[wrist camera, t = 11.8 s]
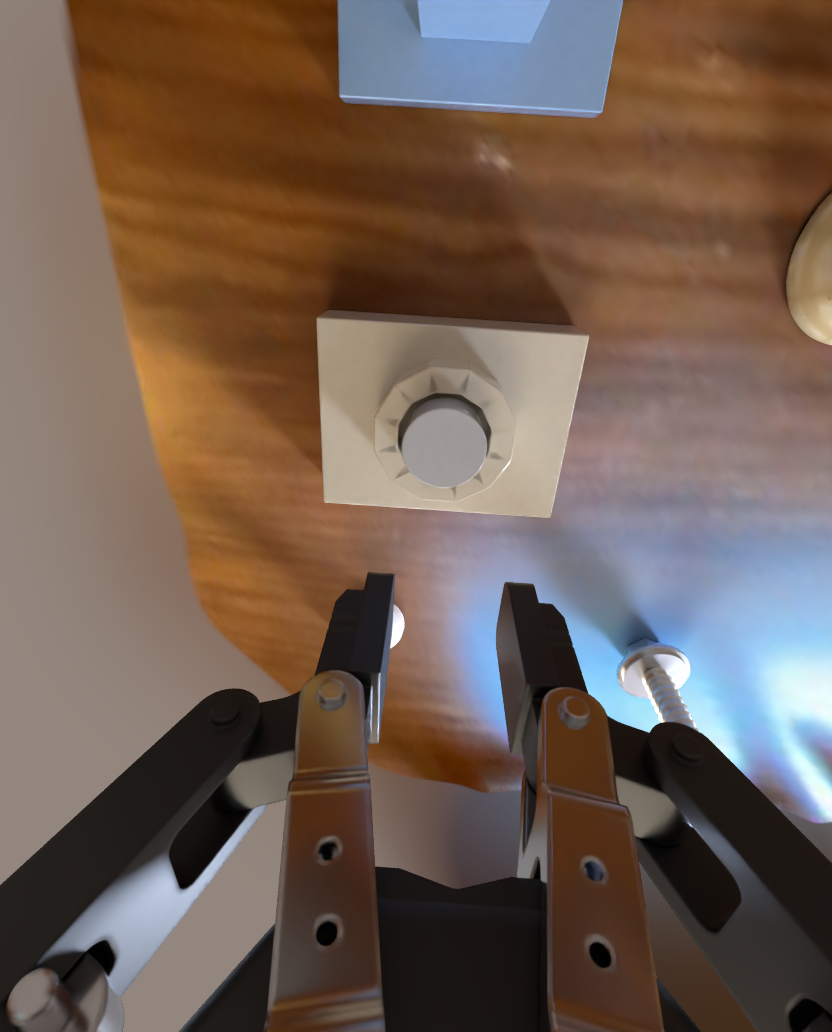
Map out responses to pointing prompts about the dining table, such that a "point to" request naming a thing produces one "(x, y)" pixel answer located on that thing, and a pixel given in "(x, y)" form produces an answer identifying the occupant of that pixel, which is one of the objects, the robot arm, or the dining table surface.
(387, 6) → the lever bracket
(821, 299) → the hand bell
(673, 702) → the screw
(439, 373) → the dial knob panel
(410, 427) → the grey push button
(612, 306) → the dining table surface
